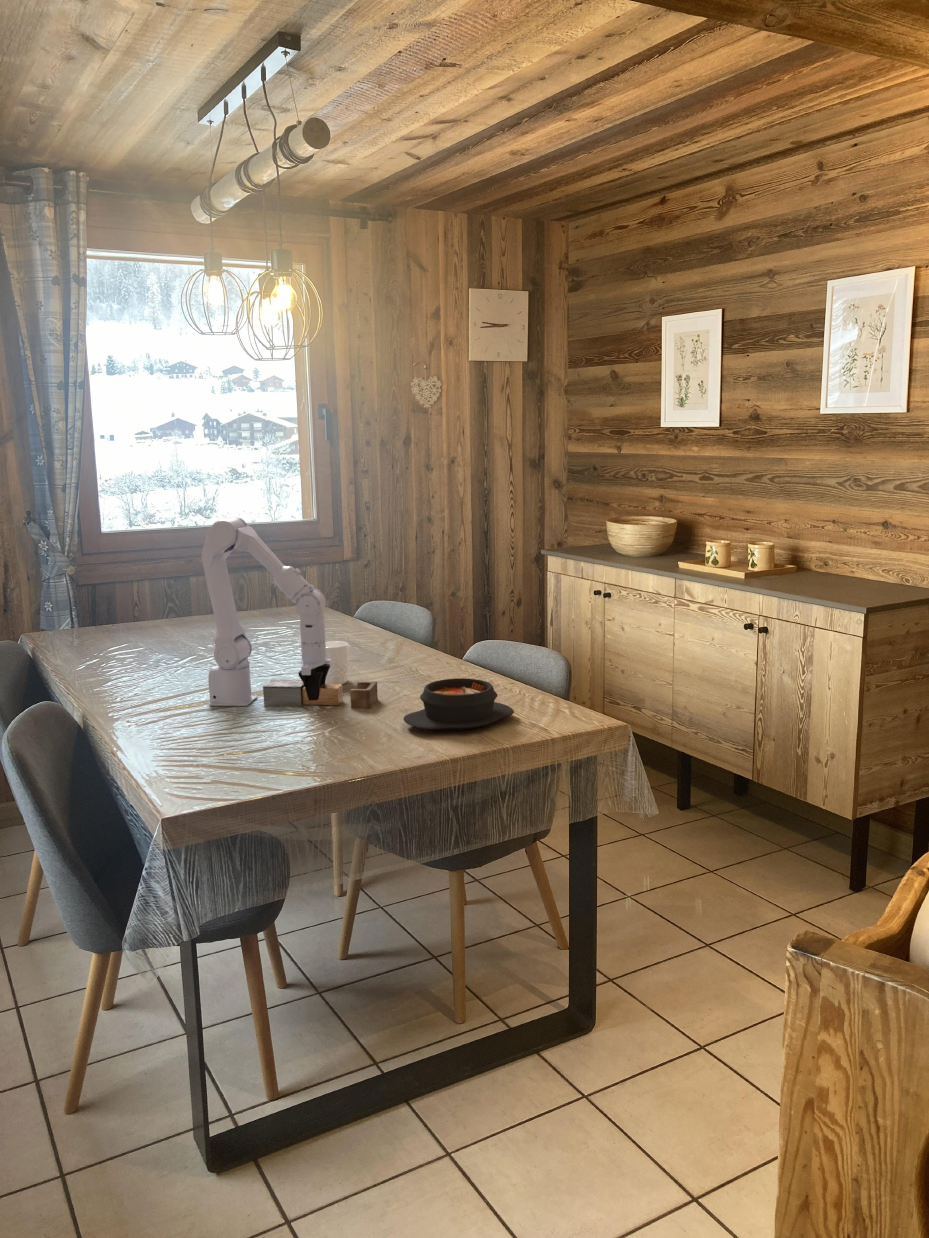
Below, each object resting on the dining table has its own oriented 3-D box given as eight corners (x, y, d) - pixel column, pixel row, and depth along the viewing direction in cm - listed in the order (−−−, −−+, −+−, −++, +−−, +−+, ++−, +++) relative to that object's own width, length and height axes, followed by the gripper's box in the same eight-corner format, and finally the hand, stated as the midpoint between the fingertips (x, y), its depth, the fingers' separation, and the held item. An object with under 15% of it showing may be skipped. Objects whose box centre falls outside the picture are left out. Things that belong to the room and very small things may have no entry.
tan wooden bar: (273, 704, 232) (272, 687, 232) (278, 699, 236) (277, 683, 236) (338, 704, 230) (337, 688, 230) (342, 700, 234) (342, 684, 234)
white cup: (321, 687, 248) (319, 648, 246) (317, 679, 256) (315, 642, 254) (352, 684, 250) (350, 646, 248) (347, 677, 258) (345, 639, 256)
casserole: (489, 705, 229) (489, 670, 227) (530, 725, 212) (529, 688, 211) (390, 721, 218) (389, 684, 216) (424, 743, 201) (423, 704, 200)
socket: (351, 708, 228) (350, 690, 227) (358, 699, 236) (358, 681, 235) (370, 708, 228) (369, 690, 227) (377, 699, 235) (376, 681, 234)
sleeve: (264, 706, 231) (263, 686, 231) (273, 698, 238) (271, 679, 237) (301, 706, 230) (300, 687, 229) (308, 699, 237) (307, 679, 236)
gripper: (321, 648, 223) (324, 706, 225) (337, 635, 237) (340, 689, 239) (291, 648, 224) (294, 705, 226) (309, 635, 238) (312, 689, 240)
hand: (316, 697), depth 233 cm, fingers closed on tan wooden bar, 4 cm apart
